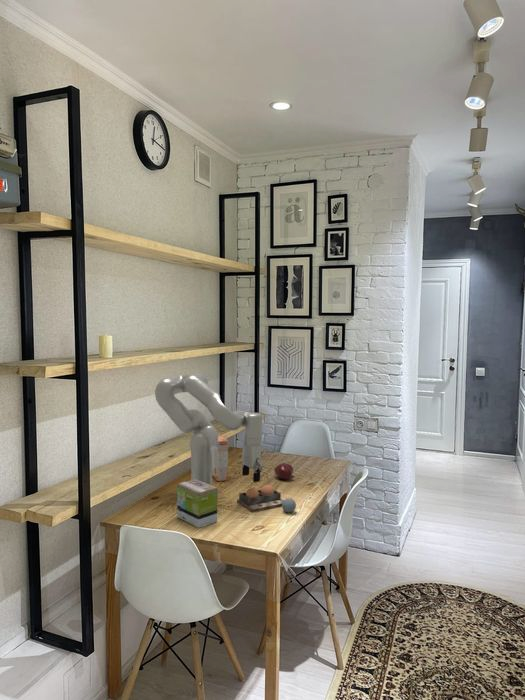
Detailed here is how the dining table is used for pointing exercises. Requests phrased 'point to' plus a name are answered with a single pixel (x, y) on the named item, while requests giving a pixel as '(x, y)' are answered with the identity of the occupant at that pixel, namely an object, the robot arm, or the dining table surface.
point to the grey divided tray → (260, 501)
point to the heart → (284, 471)
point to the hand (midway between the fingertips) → (250, 478)
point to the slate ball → (288, 505)
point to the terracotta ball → (252, 493)
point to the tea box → (197, 502)
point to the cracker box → (220, 459)
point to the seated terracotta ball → (267, 490)
